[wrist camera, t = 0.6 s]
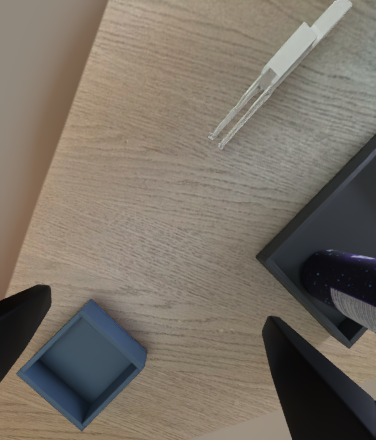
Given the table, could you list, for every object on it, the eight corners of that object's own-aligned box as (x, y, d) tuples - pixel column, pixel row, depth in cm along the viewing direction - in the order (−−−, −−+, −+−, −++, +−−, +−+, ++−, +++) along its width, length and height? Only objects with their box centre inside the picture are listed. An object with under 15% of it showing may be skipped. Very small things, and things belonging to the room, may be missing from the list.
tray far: (331, 336, 23) (349, 349, 21) (255, 257, 22) (264, 261, 20) (451, 208, 24) (481, 207, 22) (381, 128, 23) (404, 118, 21)
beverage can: (346, 293, 23) (537, 378, 11) (299, 300, 22) (444, 397, 10) (341, 244, 23) (530, 276, 11) (294, 251, 22) (435, 291, 10)
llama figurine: (223, 152, 28) (341, 21, 22) (219, 149, 17) (449, -109, 11) (213, 143, 28) (329, 9, 21) (204, 134, 17) (427, -135, 11)
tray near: (91, 408, 21) (81, 431, 19) (33, 356, 21) (15, 374, 18) (147, 351, 22) (144, 367, 19) (91, 299, 21) (81, 309, 19)
